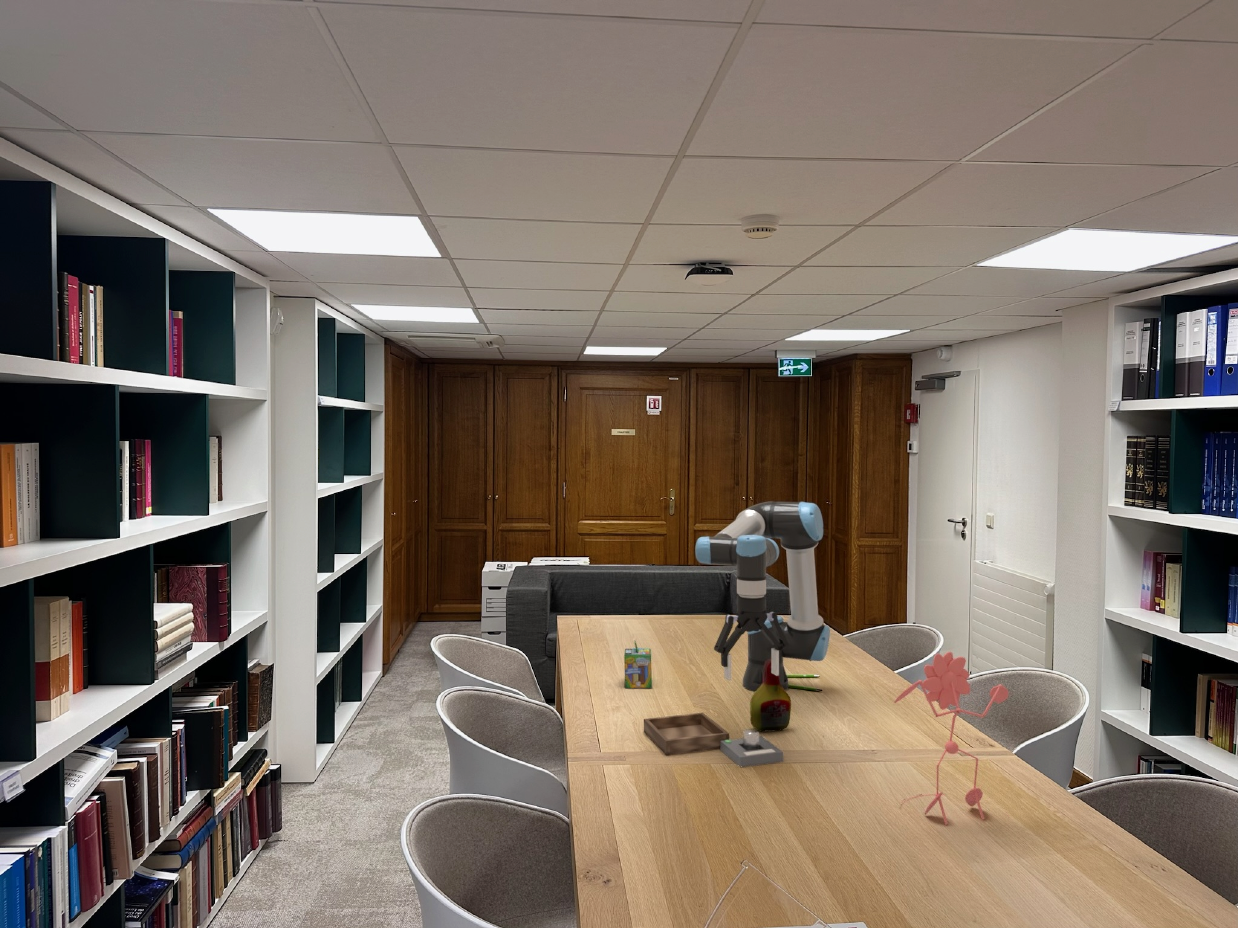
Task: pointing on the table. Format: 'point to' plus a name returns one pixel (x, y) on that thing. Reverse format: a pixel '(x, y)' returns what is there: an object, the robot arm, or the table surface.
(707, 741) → the tray
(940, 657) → the figurine
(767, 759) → the grey flat square piece
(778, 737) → the table surface
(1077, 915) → the table surface
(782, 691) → the bottle
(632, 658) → the chalk box
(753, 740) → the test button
